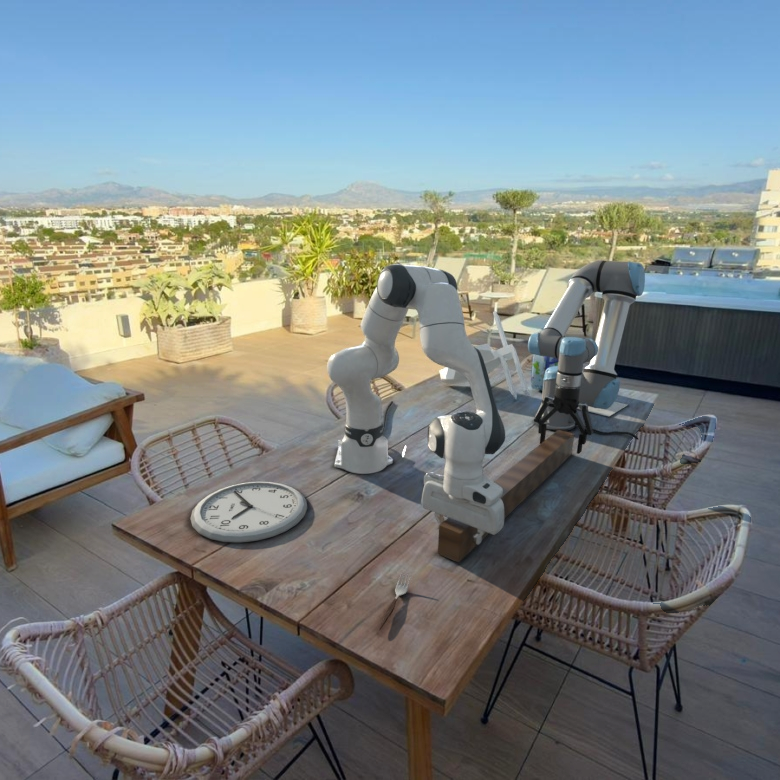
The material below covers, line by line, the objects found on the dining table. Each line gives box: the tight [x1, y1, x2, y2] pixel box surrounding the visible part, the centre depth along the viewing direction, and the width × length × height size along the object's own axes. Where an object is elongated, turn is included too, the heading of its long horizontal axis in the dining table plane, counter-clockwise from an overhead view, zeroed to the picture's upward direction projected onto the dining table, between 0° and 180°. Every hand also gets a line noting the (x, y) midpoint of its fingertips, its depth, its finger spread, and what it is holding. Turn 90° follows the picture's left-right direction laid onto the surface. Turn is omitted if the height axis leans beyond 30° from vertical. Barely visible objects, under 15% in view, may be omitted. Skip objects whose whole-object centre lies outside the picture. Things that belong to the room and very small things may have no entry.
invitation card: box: [576, 401, 629, 418], centre depth 226 cm, size 21×1×15 cm
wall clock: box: [190, 481, 308, 544], centre depth 139 cm, size 30×2×30 cm
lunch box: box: [530, 354, 559, 391], centre depth 249 cm, size 26×11×21 cm, turn 134°
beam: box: [437, 430, 575, 563], centre depth 149 cm, size 77×6×8 cm, turn 143°
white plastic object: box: [438, 310, 531, 400], centre depth 245 cm, size 37×45×31 cm
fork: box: [379, 571, 412, 631], centre depth 105 cm, size 3×16×2 cm, turn 160°
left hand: (459, 535), depth 123 cm, fingers open, 8 cm apart
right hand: (560, 447), depth 175 cm, fingers open, 12 cm apart
